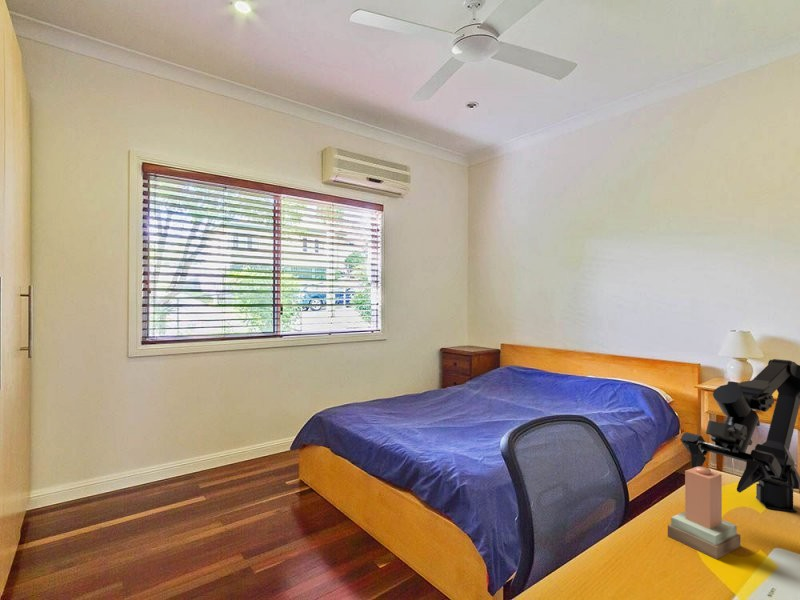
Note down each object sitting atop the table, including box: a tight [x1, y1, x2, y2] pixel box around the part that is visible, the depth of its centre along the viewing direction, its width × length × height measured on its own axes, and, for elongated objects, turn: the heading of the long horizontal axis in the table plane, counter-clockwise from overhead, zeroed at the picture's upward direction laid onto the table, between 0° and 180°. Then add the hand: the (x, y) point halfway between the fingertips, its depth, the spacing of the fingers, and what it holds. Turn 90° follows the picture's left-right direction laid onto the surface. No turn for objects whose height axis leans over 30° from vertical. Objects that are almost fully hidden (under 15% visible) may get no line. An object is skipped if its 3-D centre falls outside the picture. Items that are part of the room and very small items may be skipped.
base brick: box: [667, 511, 742, 560], centre depth 95 cm, size 10×10×4 cm
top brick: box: [684, 466, 723, 529], centre depth 95 cm, size 5×5×12 cm
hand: (714, 483), depth 98 cm, fingers open, 9 cm apart
